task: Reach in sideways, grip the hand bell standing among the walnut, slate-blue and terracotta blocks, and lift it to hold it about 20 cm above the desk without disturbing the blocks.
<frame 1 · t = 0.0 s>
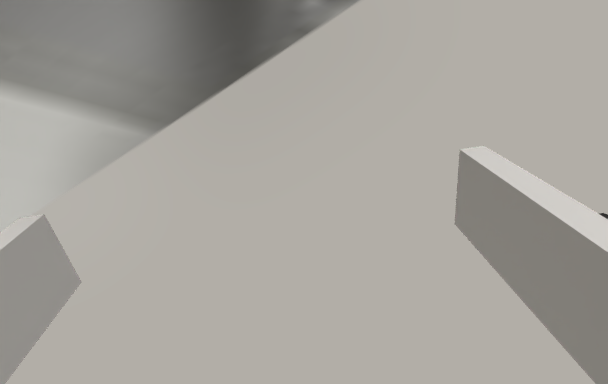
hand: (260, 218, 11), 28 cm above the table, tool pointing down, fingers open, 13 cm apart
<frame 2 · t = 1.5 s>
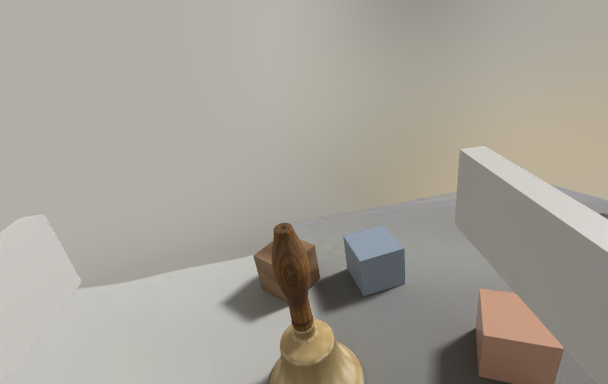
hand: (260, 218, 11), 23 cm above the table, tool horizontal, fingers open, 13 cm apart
terracotta block: (509, 357, 29), on the table
walnut block: (291, 283, 42), on the table
hand bell: (316, 382, 30), on the table
slate-blue block: (375, 276, 41), on the table
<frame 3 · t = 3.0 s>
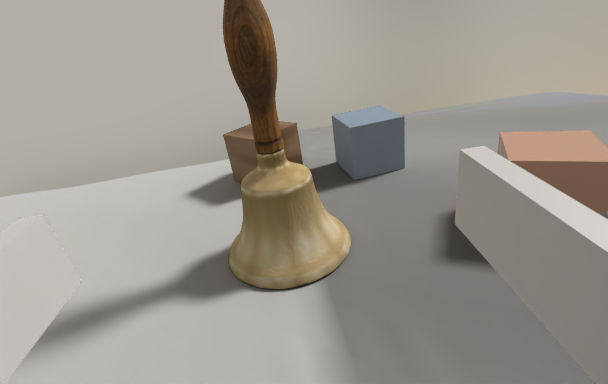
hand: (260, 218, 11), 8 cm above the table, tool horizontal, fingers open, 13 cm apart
terracotta block: (538, 216, 23), on the table
walnut block: (269, 176, 35), on the table
hand bell: (290, 249, 24), on the table
slate-blue block: (368, 165, 34), on the table
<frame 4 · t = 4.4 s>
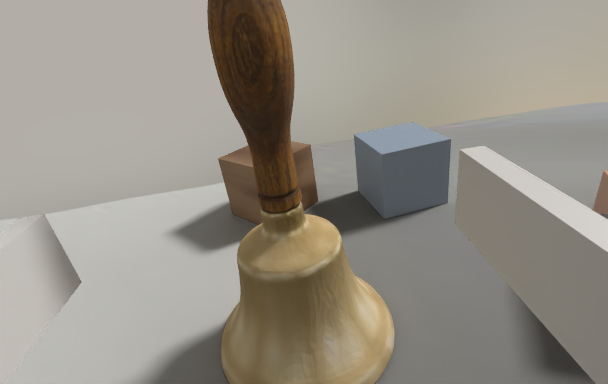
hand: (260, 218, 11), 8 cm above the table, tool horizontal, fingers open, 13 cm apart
walnut block: (275, 208, 28), on the table
hand bell: (306, 333, 17), on the table
slate-blue block: (399, 197, 27), on the table
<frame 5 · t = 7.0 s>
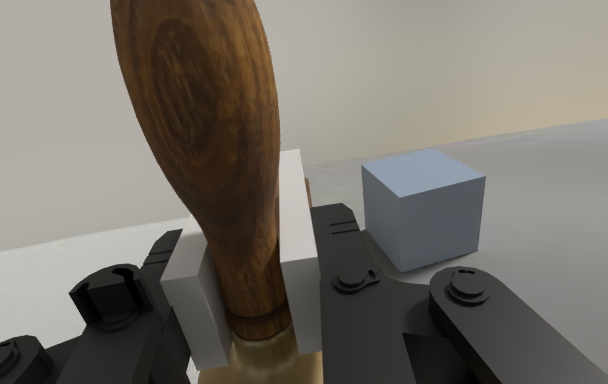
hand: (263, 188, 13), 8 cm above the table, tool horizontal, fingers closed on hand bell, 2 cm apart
walnut block: (266, 252, 23), on the table
slate-blue block: (417, 240, 22), on the table
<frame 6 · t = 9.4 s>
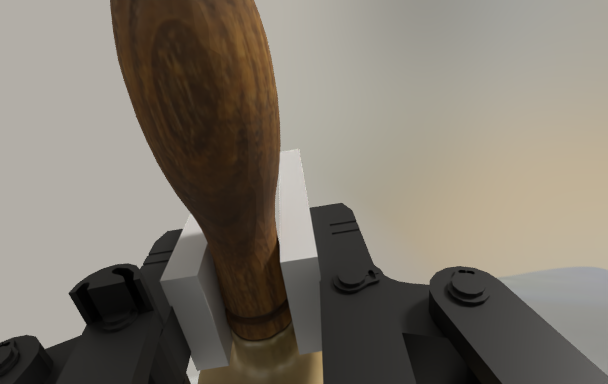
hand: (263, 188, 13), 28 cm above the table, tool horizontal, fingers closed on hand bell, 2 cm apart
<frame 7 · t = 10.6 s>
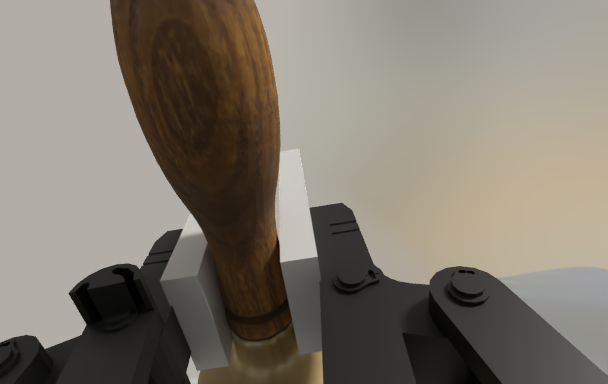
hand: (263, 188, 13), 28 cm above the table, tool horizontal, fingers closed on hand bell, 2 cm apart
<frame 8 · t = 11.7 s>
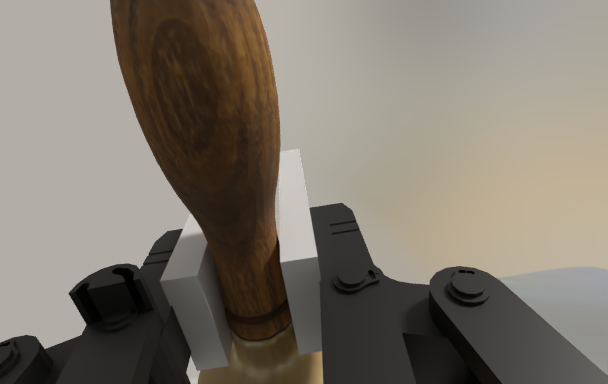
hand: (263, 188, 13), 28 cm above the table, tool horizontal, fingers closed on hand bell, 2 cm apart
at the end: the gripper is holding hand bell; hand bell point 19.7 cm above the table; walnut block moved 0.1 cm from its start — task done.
